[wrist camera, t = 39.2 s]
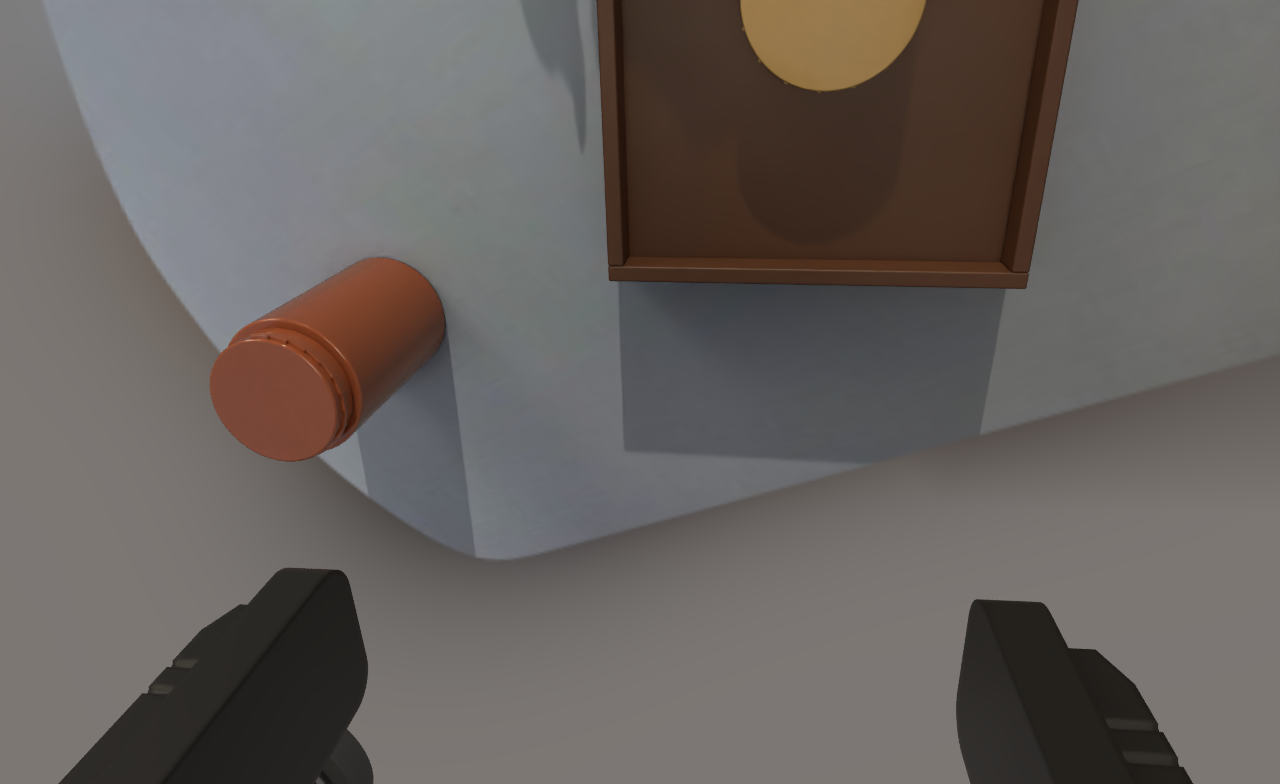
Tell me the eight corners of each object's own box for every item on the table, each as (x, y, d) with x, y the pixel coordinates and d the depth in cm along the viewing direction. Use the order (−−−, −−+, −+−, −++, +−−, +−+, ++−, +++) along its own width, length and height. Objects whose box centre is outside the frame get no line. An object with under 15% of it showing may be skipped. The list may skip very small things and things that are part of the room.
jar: (452, 370, 36) (357, 473, 28) (344, 366, 37) (221, 465, 29) (437, 257, 34) (329, 333, 26) (323, 256, 35) (183, 328, 26)
